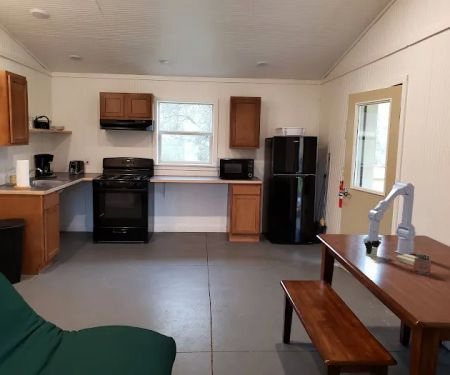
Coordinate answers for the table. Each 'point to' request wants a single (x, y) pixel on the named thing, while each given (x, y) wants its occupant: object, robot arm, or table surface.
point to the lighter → (422, 264)
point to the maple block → (406, 259)
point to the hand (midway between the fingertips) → (371, 253)
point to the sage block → (372, 252)
